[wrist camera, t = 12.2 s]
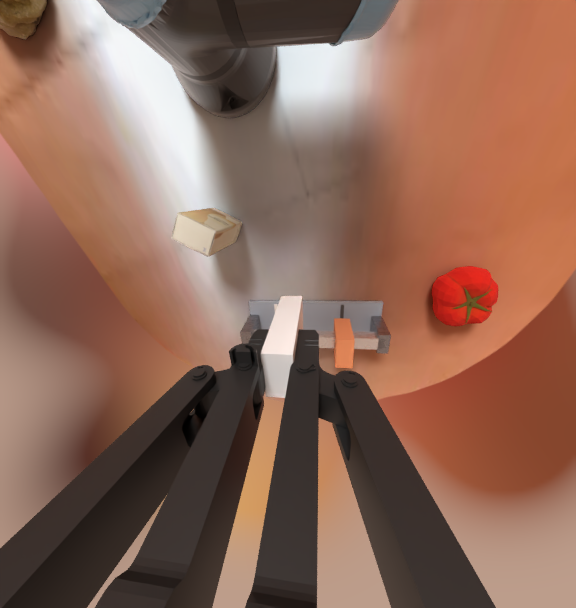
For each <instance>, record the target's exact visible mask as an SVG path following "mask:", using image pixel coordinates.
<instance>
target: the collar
mask: <svg viewBox="0 0 576 608" xmlns="http://www.w3.org/2000/svg"><path fill="white" fill-rule="evenodd" d="M334 331H335V348H334V358H335V367H336V368H352V367H353V355H354V343H355V339H354V335H353V331H352V327H351V322H350V319H346V318H334Z"/></svg>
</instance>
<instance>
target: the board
mask: <svg viewBox="0 0 576 608" xmlns="http://www.w3.org/2000/svg"><path fill="white" fill-rule="evenodd" d="M248 303H249V310H250V315H259V320H260V328H261V329H270V326H271V323H272V320H273V318H274V315H275V312H276V309H277V307H278V304H279V301H266V300H250V301H249V302H248ZM382 308H383V302H382V301H303V330H316V331H334V318H346V319H350V322H351V327H352V331H365V332H370V323H371V316H381V315H382Z"/></svg>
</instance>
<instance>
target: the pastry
mask: <svg viewBox="0 0 576 608" xmlns="http://www.w3.org/2000/svg"><path fill="white" fill-rule="evenodd" d="M46 5H47V0H0V29H3V30H4V31H5V32H6V33H7V34H9V35H11V36H14V37H19V38H20V39H25V40H27V38H28V37H29V36H30V35H32V36H33V34H34V32H36V29H35V27H37V25H38V24H39V22H40V19H41V17H42V13H43V11H44V10H45V7H46Z"/></svg>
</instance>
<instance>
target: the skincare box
mask: <svg viewBox="0 0 576 608" xmlns="http://www.w3.org/2000/svg"><path fill="white" fill-rule="evenodd" d="M241 226H242V222H241V221H239V220H237V219H236V218H234V217H232V216H230V215H228V214H226V213H224V212H222V211H220V210H218V209H215V208H209V209H202V210H195V211H188V212H181V213H177V217H176V221H175V224H174V229H173V233H172V239H173V240H174V241H176V242H178V243H180V244H182V245H185V246H186V247H188V248H190V249H193V250H195V251H197V252H199V253H201V254H203V255H205V256H207V257H209V256H211V255H212V254H214V253H216V252H218V251H220V250H222V249H223V248H225V247H227V246H229V245H231V244H233V243H235V242H236V240H237V237H238V235H239V232H240V229H241Z"/></svg>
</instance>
